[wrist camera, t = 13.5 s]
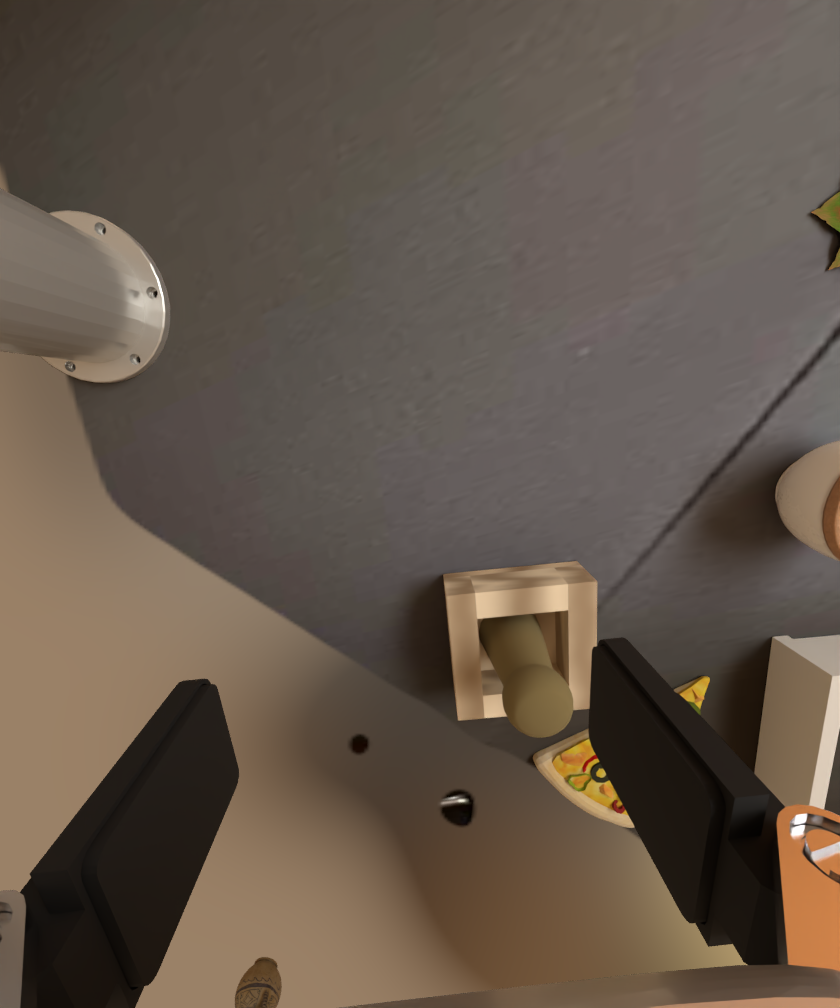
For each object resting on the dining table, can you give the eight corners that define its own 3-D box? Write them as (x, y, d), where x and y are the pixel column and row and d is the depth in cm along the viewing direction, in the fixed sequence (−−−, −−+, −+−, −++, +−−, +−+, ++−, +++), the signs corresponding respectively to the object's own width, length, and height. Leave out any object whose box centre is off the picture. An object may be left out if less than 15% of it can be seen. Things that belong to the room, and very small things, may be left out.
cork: (480, 603, 38) (505, 680, 27) (542, 604, 38) (591, 682, 27) (476, 657, 39) (499, 751, 29) (536, 658, 39) (580, 752, 29)
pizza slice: (520, 760, 45) (528, 785, 42) (651, 632, 41) (669, 649, 38) (617, 822, 47) (631, 850, 44) (749, 707, 43) (773, 729, 40)
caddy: (453, 687, 41) (458, 720, 37) (443, 574, 38) (446, 595, 34) (577, 675, 41) (596, 708, 37) (576, 561, 38) (597, 581, 34)
